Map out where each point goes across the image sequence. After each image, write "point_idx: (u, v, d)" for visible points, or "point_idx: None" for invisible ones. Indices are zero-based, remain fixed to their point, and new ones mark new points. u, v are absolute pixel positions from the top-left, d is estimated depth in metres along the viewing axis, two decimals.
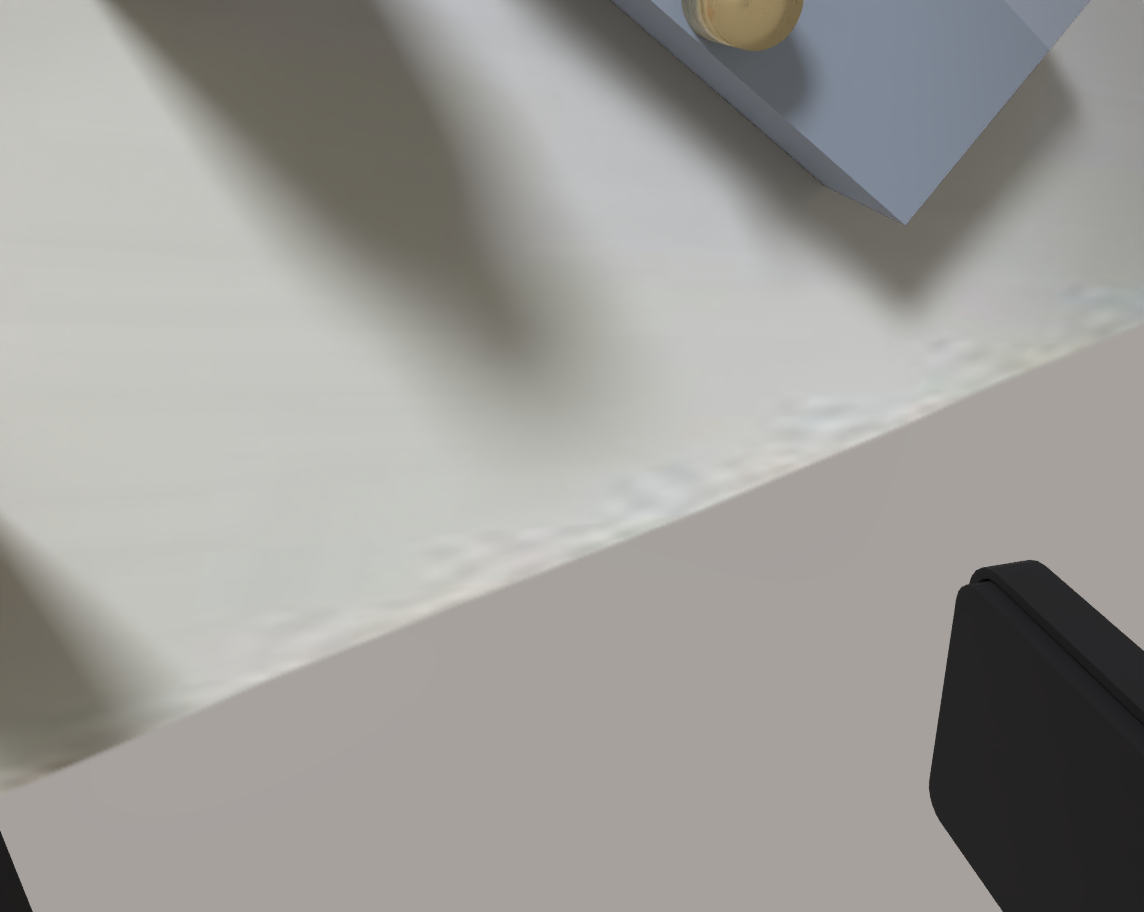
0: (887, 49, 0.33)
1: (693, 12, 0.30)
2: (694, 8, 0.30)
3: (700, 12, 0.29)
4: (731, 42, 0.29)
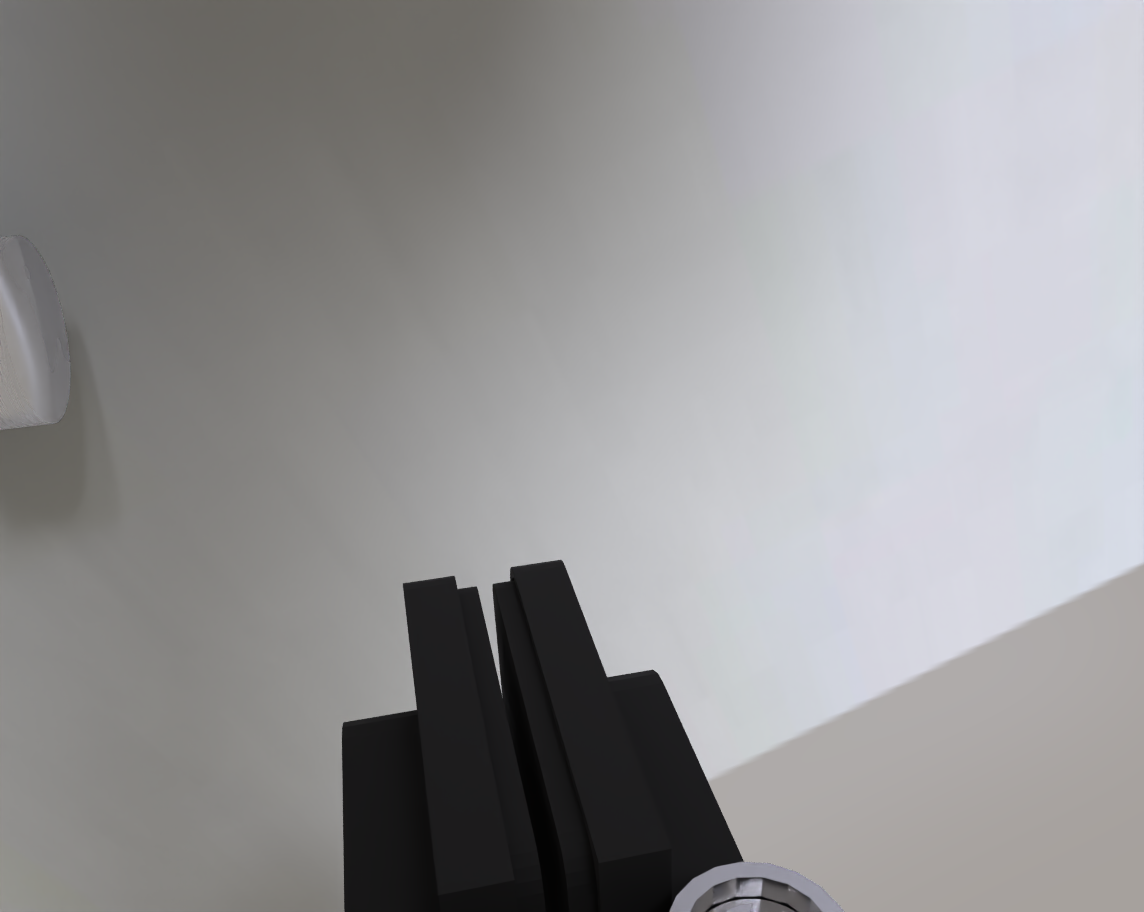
0: None
1: None
2: None
3: None
4: None
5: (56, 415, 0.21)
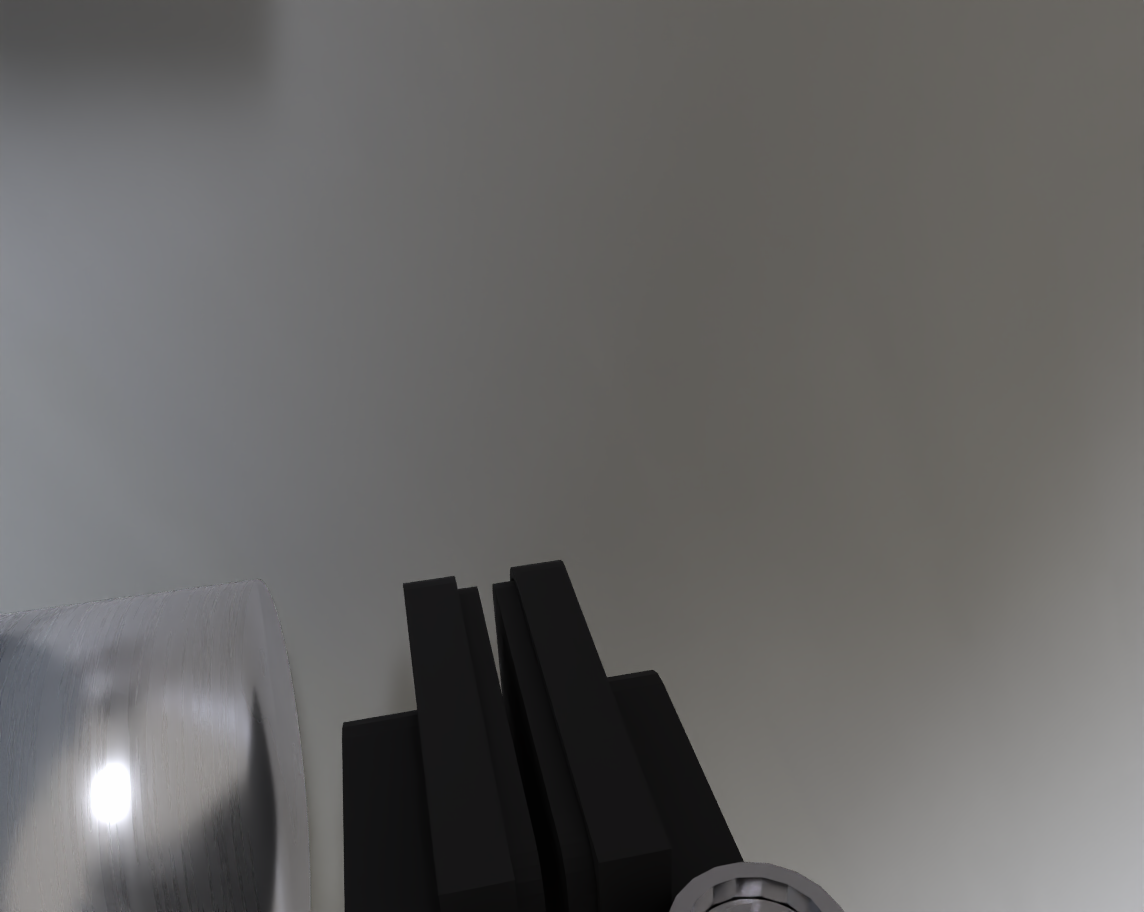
0: None
1: None
2: None
3: None
4: None
5: None
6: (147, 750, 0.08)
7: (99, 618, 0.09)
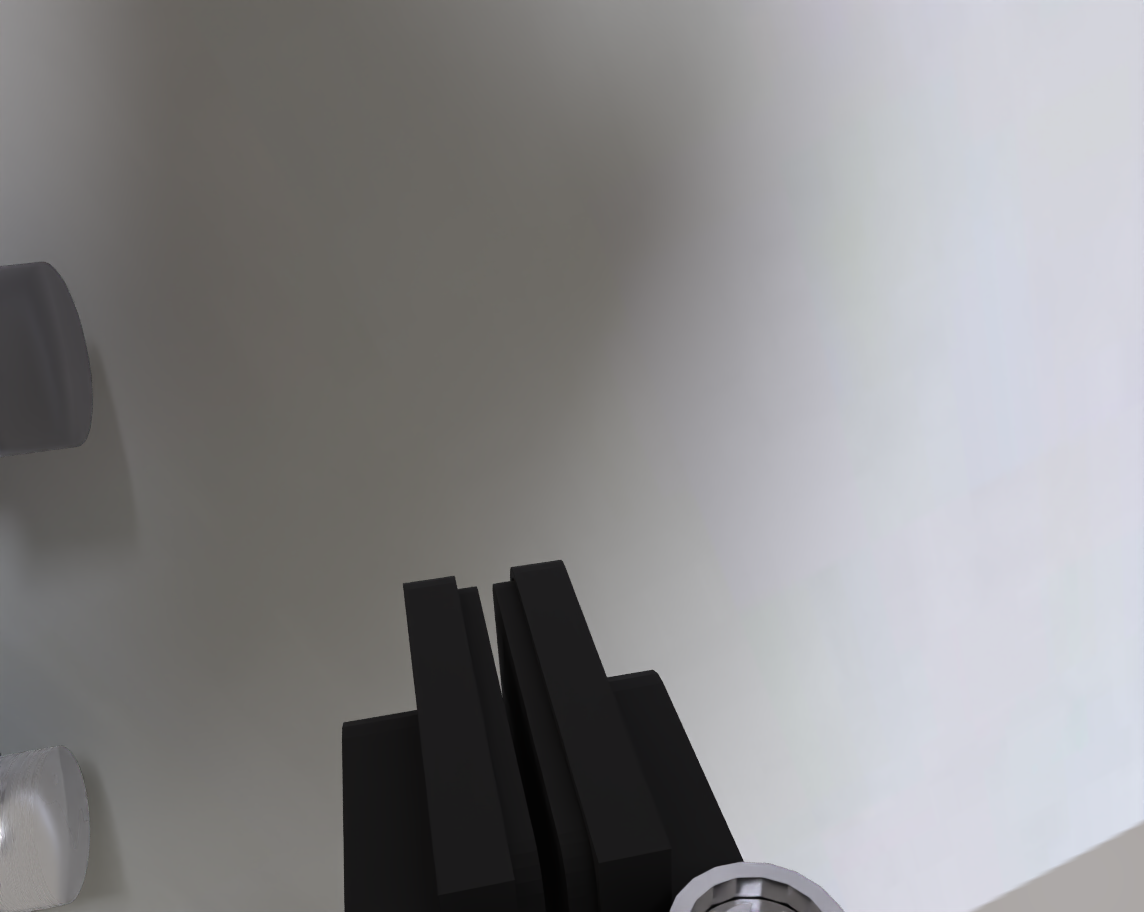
0: None
1: None
2: None
3: None
4: None
5: (79, 885, 0.26)
6: (3, 815, 0.24)
7: None
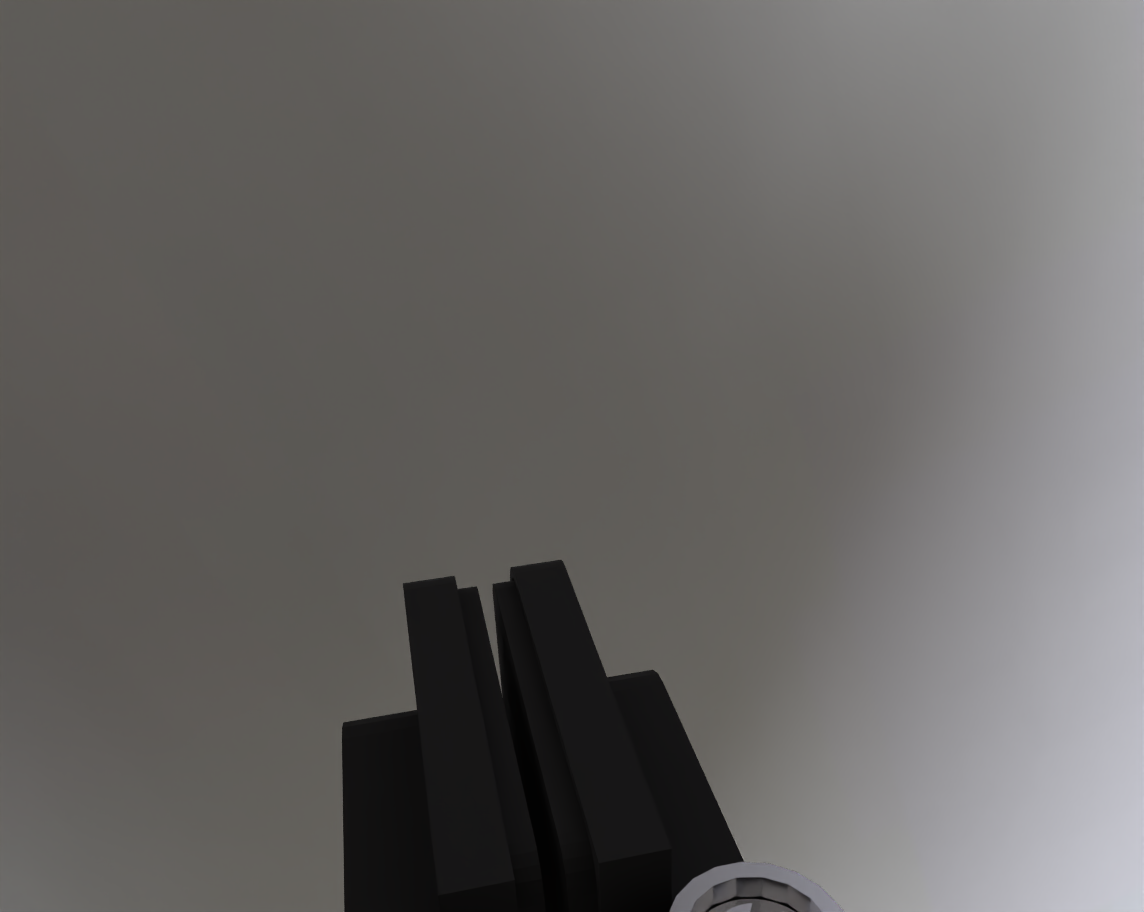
0: None
1: None
2: None
3: None
4: None
5: None
6: None
7: None
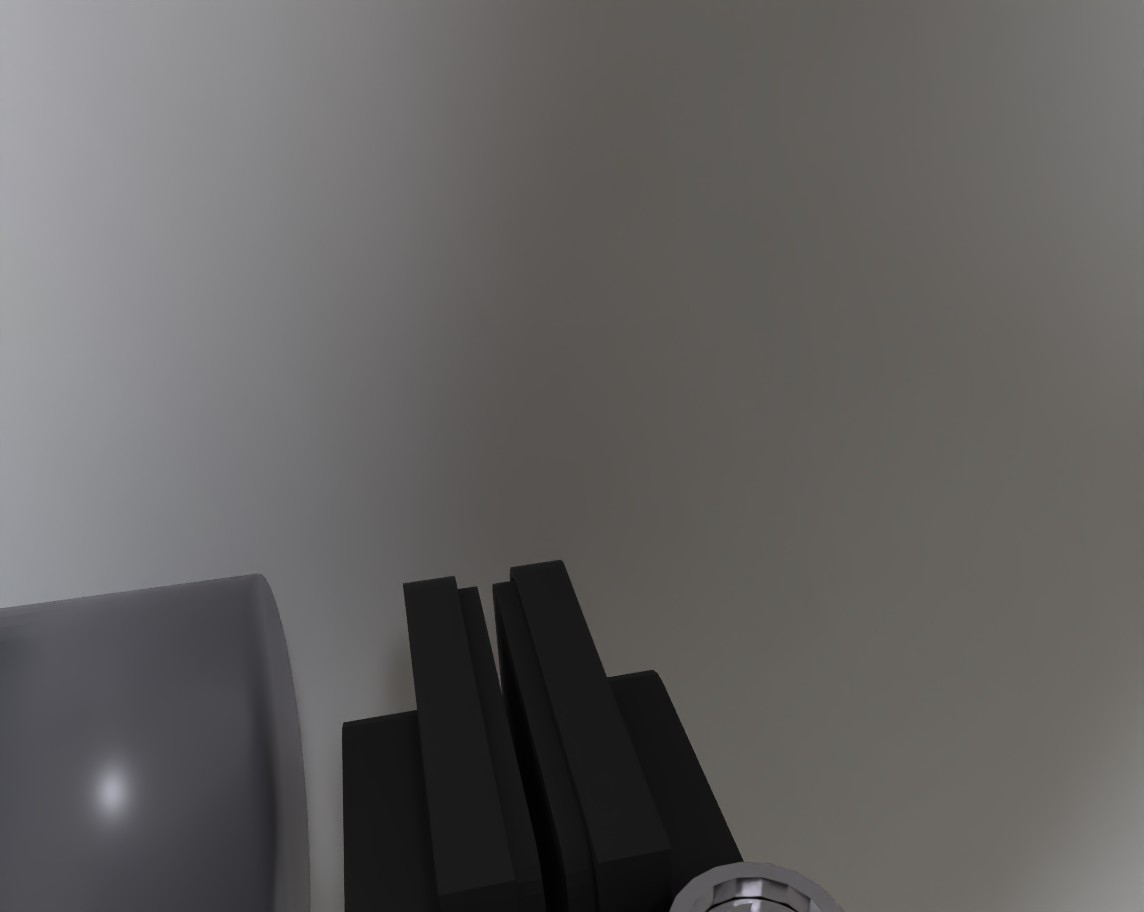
0: None
1: None
2: None
3: None
4: None
5: None
6: None
7: None
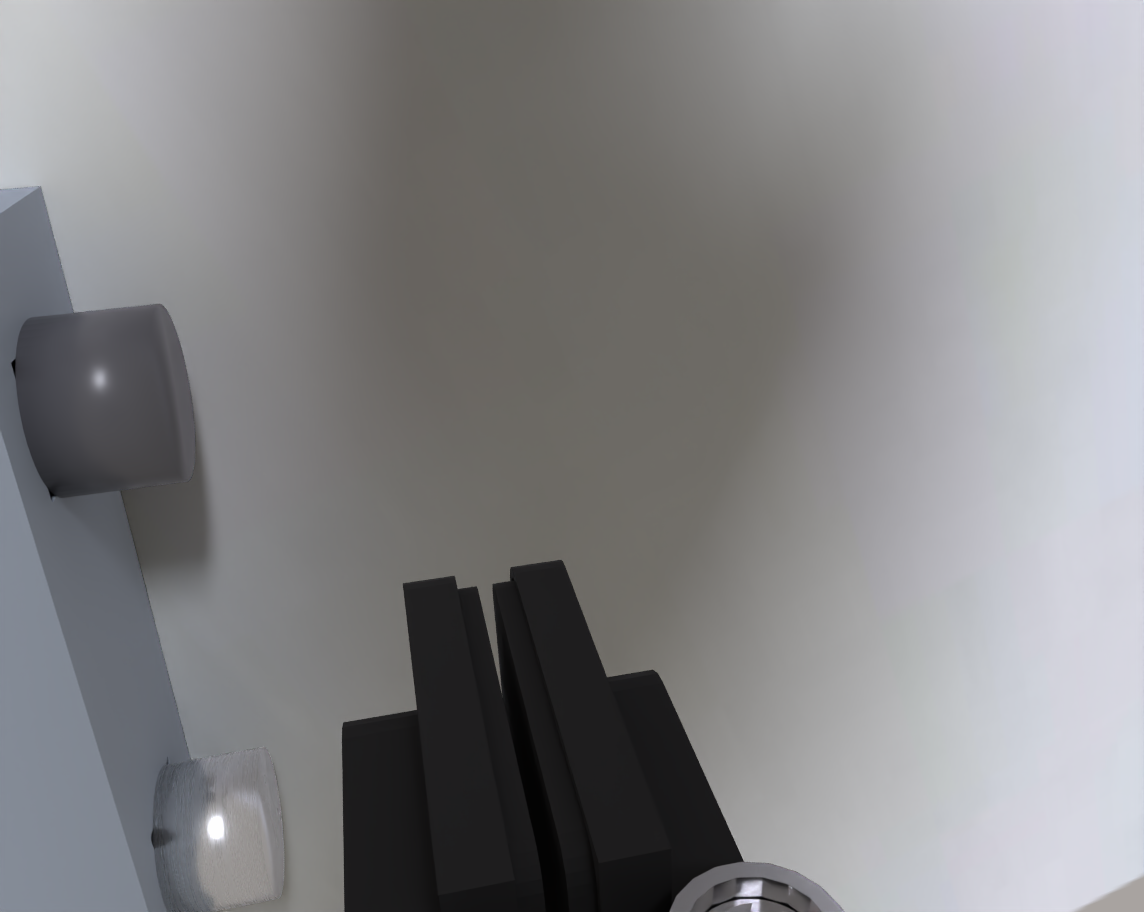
0: None
1: None
2: None
3: None
4: None
5: (282, 881, 0.27)
6: (229, 813, 0.25)
7: (208, 766, 0.26)
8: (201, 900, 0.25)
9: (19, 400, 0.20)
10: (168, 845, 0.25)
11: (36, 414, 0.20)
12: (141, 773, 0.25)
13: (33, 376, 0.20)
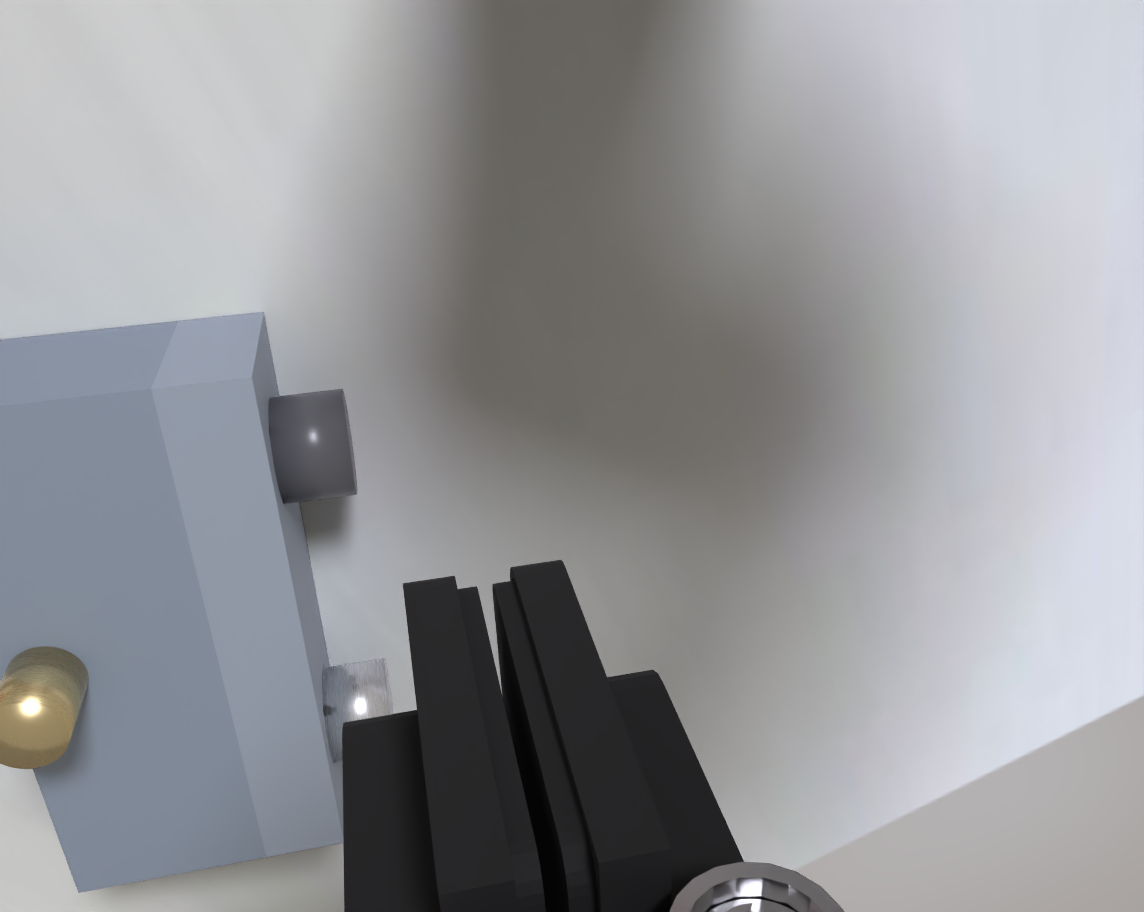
0: (148, 785, 0.38)
1: None
2: None
3: None
4: None
5: None
6: (369, 696, 0.41)
7: (353, 668, 0.42)
8: None
9: (272, 450, 0.35)
10: (333, 714, 0.40)
11: (281, 458, 0.35)
12: (317, 670, 0.40)
13: (279, 436, 0.35)
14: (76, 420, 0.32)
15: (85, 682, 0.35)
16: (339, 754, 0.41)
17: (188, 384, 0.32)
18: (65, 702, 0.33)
